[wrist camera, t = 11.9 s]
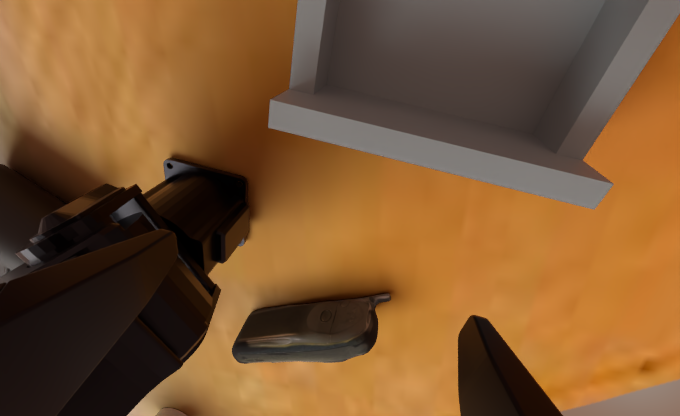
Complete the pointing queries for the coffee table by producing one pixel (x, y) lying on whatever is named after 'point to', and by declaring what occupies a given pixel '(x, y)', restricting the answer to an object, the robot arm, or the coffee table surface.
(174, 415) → the house plant
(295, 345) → the mobile phone
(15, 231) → the black boxy device
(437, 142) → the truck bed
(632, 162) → the coffee table surface
